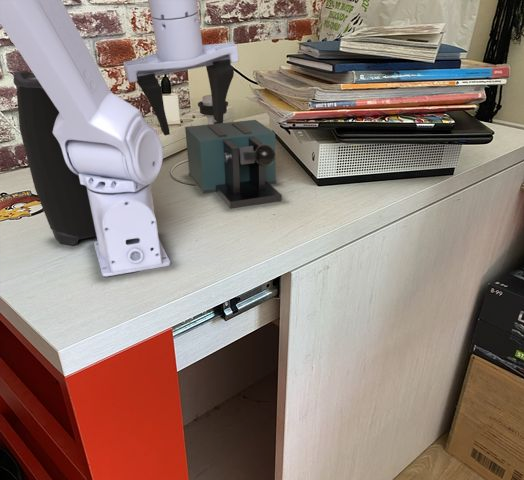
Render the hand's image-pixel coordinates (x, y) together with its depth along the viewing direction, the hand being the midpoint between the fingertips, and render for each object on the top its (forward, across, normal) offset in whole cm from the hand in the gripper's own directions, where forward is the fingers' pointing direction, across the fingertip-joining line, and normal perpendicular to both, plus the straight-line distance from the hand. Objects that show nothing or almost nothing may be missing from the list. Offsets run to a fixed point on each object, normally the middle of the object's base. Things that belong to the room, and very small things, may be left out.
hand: (192, 126), depth 74 cm
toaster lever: (+5, -7, +5) cm, 10 cm away
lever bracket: (+12, -6, +1) cm, 13 cm away
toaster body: (+12, -6, -6) cm, 15 cm away
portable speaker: (+8, +18, +6) cm, 21 cm away
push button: (+15, -8, -21) cm, 27 cm away
